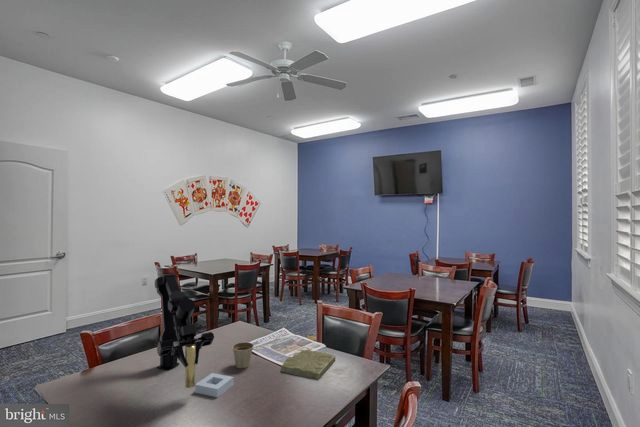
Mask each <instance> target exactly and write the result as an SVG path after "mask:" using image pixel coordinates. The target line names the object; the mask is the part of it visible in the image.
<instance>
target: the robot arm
mask: <svg viewBox="0 0 640 427" xmlns="http://www.w3.org/2000/svg"><path fill="white" fill-rule="evenodd" d="M177 279H178V277H177V275H176V274H174V273H170V274H164V275H162V276H160V277H157V278H156V279H154V288H155V290H156V293H157V294H158V295H159V297H160V303H161V304H160V305H161V316H162V318H161V320H162V331H161V332H162V333H161V334H160V335H159V341H158V343H157V347H156V352H157V354H158V356H159V358H160V359H159V362H160V363H159V365H158V366H157V369H160V370H167V371H170V370H171V369H174V368H176V367H177V366H179V365H180V363H181V364H182V365H183V367H184V368H185V367H187V364H186V359H185V352H184V348H183V347H186V346H187V345H191V344H194V345H196V361H195V366H196V365H198V364H199V355H200V350H202V347H207V346H210V345H212V343H213V341H214V339H215V334H214V333H213V332H212V331H207V332H203V333H201V335H200V337H196V336H197V333H198V331H202V329H203V324H202V320H198V321H195V322H194V323H192V321H191V317H192V315H193V313H194V310H195V308H196V303H195V302H196V301H194V300H193V299H191V298H189V296H188V295H187V294H186V293H185V292H183V291H181V288H180V286H179V283H178V280H177ZM174 313H175V314H174ZM178 360H179V362H180V363H179V362H178Z"/></svg>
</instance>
